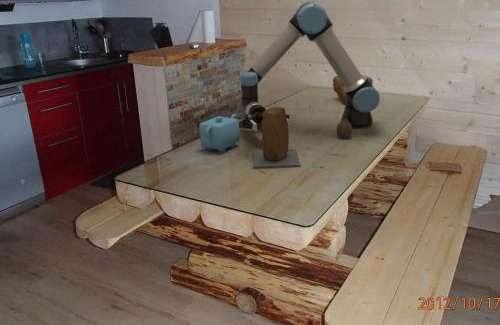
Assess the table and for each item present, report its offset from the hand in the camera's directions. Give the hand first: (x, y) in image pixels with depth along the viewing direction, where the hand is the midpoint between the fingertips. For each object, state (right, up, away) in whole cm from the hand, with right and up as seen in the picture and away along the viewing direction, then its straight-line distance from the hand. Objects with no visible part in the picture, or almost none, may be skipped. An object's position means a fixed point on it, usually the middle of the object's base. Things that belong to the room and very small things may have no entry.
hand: (272, 125), depth 177 cm
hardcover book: (-5, +4, +49) cm, 49 cm away
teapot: (-21, -8, +20) cm, 30 cm away
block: (+2, -13, +3) cm, 13 cm away
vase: (+33, -4, +25) cm, 42 cm away
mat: (+1, -13, +3) cm, 14 cm away
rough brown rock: (+49, +20, +83) cm, 99 cm away
